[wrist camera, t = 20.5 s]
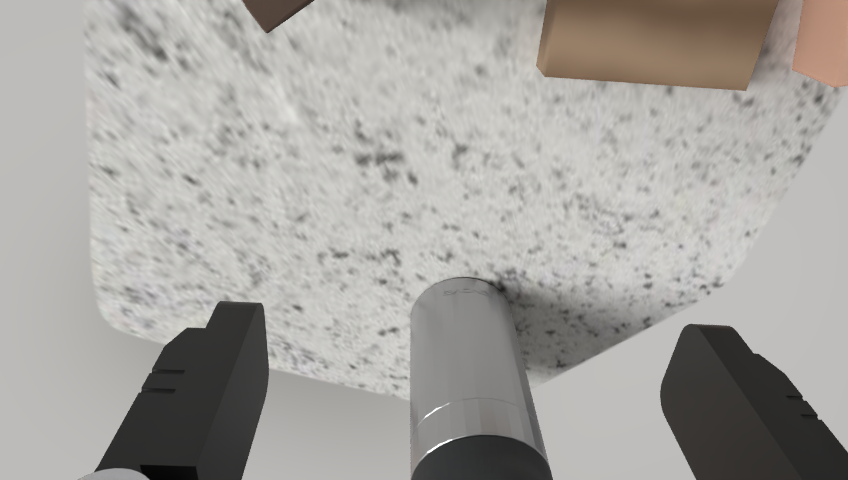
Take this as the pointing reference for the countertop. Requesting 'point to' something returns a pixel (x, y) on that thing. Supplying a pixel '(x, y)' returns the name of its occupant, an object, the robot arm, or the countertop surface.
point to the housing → (655, 41)
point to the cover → (823, 42)
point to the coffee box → (274, 11)
